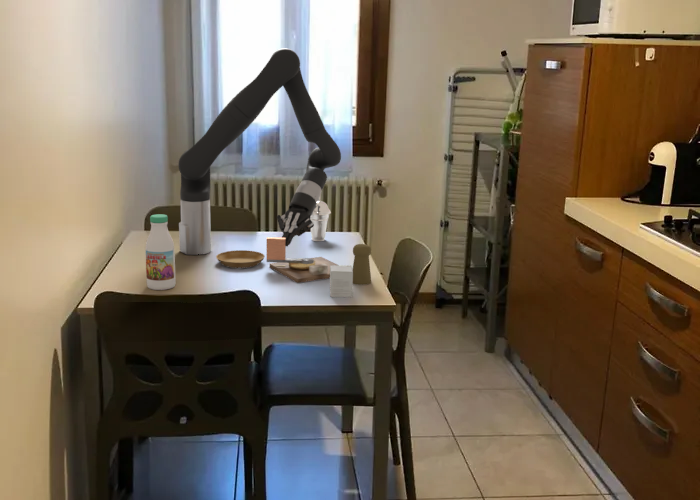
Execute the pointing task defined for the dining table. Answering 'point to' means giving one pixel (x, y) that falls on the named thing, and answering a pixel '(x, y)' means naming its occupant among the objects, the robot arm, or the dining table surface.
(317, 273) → the brown wooden cutting board
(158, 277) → the milk bottle
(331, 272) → the product box
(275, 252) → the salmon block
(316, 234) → the cup with straw
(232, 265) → the plant saucer
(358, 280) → the pepper mill
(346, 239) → the dining table surface
